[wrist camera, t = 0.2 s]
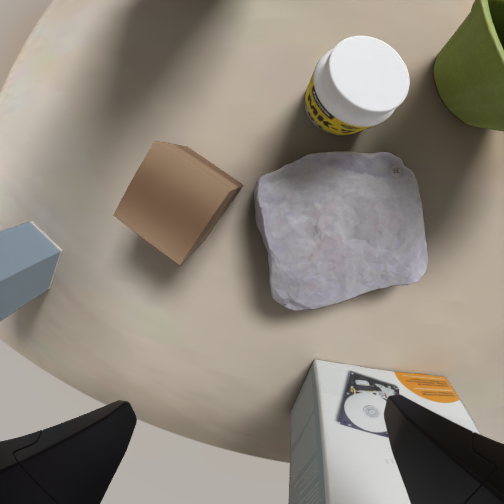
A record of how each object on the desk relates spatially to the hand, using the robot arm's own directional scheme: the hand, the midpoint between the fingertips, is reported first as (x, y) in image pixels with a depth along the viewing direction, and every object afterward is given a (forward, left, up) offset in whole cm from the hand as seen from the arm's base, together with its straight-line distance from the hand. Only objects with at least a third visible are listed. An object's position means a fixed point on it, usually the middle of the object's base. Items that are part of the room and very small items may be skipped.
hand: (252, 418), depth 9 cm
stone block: (-3, +5, -15) cm, 16 cm away
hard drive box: (+14, +8, -15) cm, 22 cm away
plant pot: (-14, +18, -15) cm, 27 cm away
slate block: (-4, -22, -14) cm, 27 cm away
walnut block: (-7, -5, -15) cm, 16 cm away
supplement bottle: (-12, +6, -15) cm, 20 cm away
